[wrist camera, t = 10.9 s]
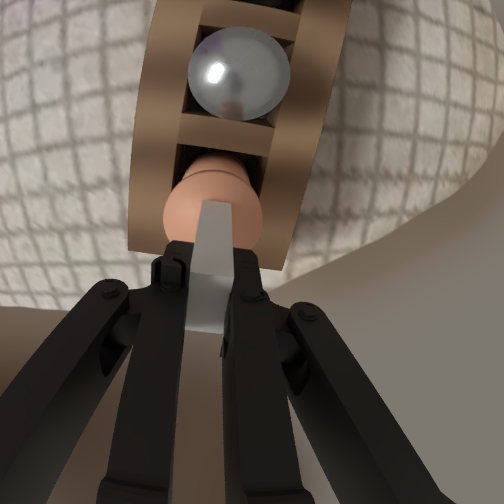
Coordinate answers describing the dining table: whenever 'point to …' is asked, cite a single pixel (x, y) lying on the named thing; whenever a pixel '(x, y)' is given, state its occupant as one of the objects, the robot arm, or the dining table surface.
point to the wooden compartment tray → (228, 131)
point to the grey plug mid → (239, 73)
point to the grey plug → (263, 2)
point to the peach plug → (214, 199)
